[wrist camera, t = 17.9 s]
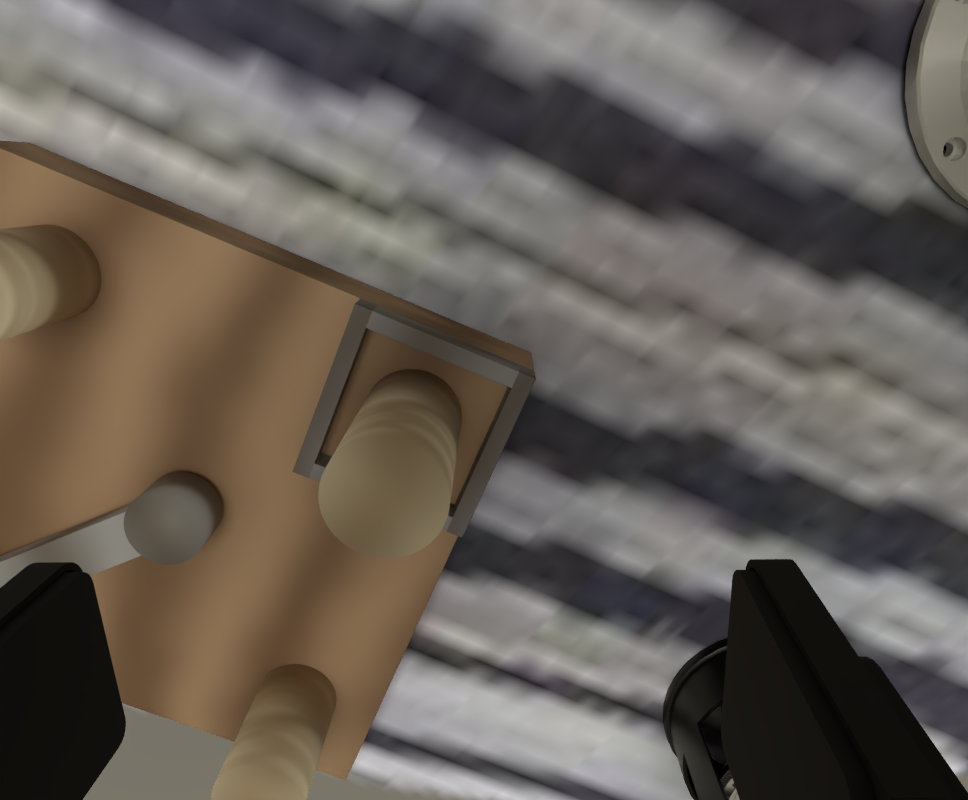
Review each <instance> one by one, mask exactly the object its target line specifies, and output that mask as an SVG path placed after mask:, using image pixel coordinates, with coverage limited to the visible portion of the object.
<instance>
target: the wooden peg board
mask: <svg viewBox="0 0 968 800" xmlns="http://www.w3.org/2000/svg"><path fill="white" fill-rule="evenodd" d="M404 369H419V370H424V371H427V372H430V373H432V374H435V375H437V376H438V377H440V378H441V379H443V380H444V381H445V382H446V383H447V384H448V385H449V386H450V387H451V388H452V390H453V391H454V392H455V394H456V396H457V398H458V400H459V403H460V407H461V413H462V421H461V429H460V436H459V443H458V451H457V458H456V465H455V472H454V479H453V486H452V493H451V501H450V508H449V513H448V517H447V520H446V522H445V525H444V526H443V528H442V530H441V531H440V533H439V534H438V536H437V537H436V538H435V539H434V540H433V541H432V542H431V543H430V544H428V545H427V546H426V547H424V548H423V549H421V550H419V551H417V552H415V553H413V554H410V555H407V556H404V557H398V558H376V557H371V556H367V555H364V554H361V553H359V552H356V551H354V550H352V549H351V548H349V547H347V546H346V545H345V544H343V543H342V542H341V541H340V540H339V539H337V538H336V537H335V536H334V534H333V533H332V532H331V531H330V529H329V528H328V526H327V525H326V523H325V521H324V519H323V517H322V514H321V511H320V507H319V500H318V490H319V483H320V480H321V477H322V474H323V472H324V470H325V468H326V466H327V465H328V463H329V461H330V459H331V458H332V456H333V454H334V453H335V451H336V449H337V447H338V446H339V444H340V442H341V441H342V439H343V437H344V435H345V434H346V432H347V430H348V429H349V427H350V425H351V423H352V422H353V420H354V418H355V417H356V415H357V413H358V411H359V410H360V408H361V406H362V405H363V403H364V401H365V399H366V398H367V396H368V394H369V393H370V391H371V389H372V388H373V387H374V385H375V384H376V383H377V382H378V381H379V380H381V379H382V378H383V377H385V376H386V375H388V374H390V373H392V372H395V371H398V370H404ZM535 379H536V378H535V373H534V367H533V362H532V357H531V353H529V352H527V351H525V350H522V349H520V348H517V347H515V346H513V345H510V344H508V343H505V342H503V341H501V340H498V339H496V338H494V337H491V336H489V335H486V334H484V333H482V332H479V331H477V330H474V329H472V328H470V327H467V326H465V325H463V324H460V323H458V322H455V321H453V320H451V319H448V318H446V317H443V316H441V315H439V314H436V313H434V312H432V311H429V310H427V309H424V308H422V307H420V306H417V305H415V304H412V303H410V302H408V301H405V300H403V299H401V298H398V297H396V296H393V295H391V294H389V293H386V292H384V291H381V290H379V289H377V288H374V287H372V286H369V285H367V284H365V283H362V282H360V281H358V280H355V279H353V278H350V277H348V276H346V275H343V274H341V273H338V272H336V271H334V270H331V269H329V268H327V267H324V266H322V265H319V264H317V263H315V262H312V261H310V260H307V259H305V258H303V257H300V256H298V255H296V254H293V253H291V252H288V251H286V250H284V249H281V248H279V247H276V246H274V245H272V244H269V243H267V242H265V241H262V240H260V239H257V238H255V237H253V236H250V235H248V234H245V233H243V232H241V231H238V230H236V229H234V228H231V227H229V226H226V225H224V224H222V223H219V222H217V221H214V220H212V219H210V218H207V217H205V216H203V215H200V214H198V213H195V212H193V211H191V210H188V209H186V208H183V207H181V206H179V205H176V204H174V203H172V202H169V201H167V200H164V199H162V198H160V197H157V196H155V195H152V194H150V193H148V192H145V191H143V190H141V189H138V188H136V187H133V186H131V185H129V184H126V183H124V182H121V181H119V180H117V179H114V178H112V177H110V176H107V175H105V174H102V173H100V172H98V171H95V170H93V169H90V168H88V167H86V166H83V165H81V164H79V163H76V162H74V161H71V160H69V159H67V158H64V157H62V156H59V155H57V154H55V153H52V152H50V151H48V150H45V149H43V148H40V147H38V146H36V145H33V144H31V143H25V142H11V141H0V556H2V555H5V554H7V553H10V552H12V551H15V550H17V549H20V548H22V547H25V546H27V545H30V544H32V543H35V542H37V541H40V540H42V539H45V538H47V537H50V536H52V535H54V534H57V533H59V532H62V531H64V530H67V529H69V528H72V527H74V526H77V525H79V524H82V523H84V522H87V521H89V520H92V519H94V518H97V517H99V516H102V515H104V514H107V513H109V512H112V511H114V510H117V509H119V508H121V507H124V506H126V505H129V504H131V503H132V502H133V501H134V500H135V499H136V498H137V497H138V496H140V495H141V494H142V493H143V492H144V491H145V490H146V489H147V488H148V487H150V486H151V485H152V484H153V483H154V482H155V481H156V480H157V479H159V478H160V477H162V476H164V475H166V474H169V473H173V472H186V473H191V474H194V475H197V476H199V477H201V478H203V479H204V480H206V481H207V482H208V483H209V484H210V485H211V486H212V487H213V488H214V489H215V490H216V492H217V493H218V495H219V497H220V500H221V503H222V518H221V521H220V524H219V525H218V527H217V528H216V530H215V531H214V532H213V534H212V535H211V536H210V537H209V539H208V540H207V541H206V542H205V544H204V545H203V546H202V547H201V549H200V550H199V551H198V552H197V554H196V555H195V556H193V557H192V558H191V559H189V560H187V561H185V562H183V563H179V564H173V565H166V564H159V563H156V562H153V561H150V560H148V559H146V558H145V557H143V556H139V557H136V558H134V559H131V560H129V561H126V562H124V563H121V564H119V565H116V566H113V567H111V568H108V569H106V570H103V571H101V572H98V573H96V574H93V575H90V576H91V578H92V580H93V583H94V588H95V592H96V596H97V600H98V604H99V609H100V613H101V617H102V621H103V626H104V630H105V634H106V638H107V643H108V647H109V651H110V655H111V660H112V664H113V668H114V672H115V677H116V681H117V685H118V689H119V693H120V698H121V702H122V703H124V704H126V705H129V706H132V707H135V708H138V709H141V710H144V711H147V712H150V713H153V714H155V715H158V716H161V717H164V718H167V719H170V720H173V721H176V722H179V723H182V724H185V725H187V726H190V727H193V728H196V729H199V730H202V731H205V732H208V733H211V734H214V735H216V736H219V737H223V738H225V739H228V740H231V741H234V743H233V746H232V748H231V750H230V752H229V754H228V756H227V759H226V761H225V763H224V765H223V767H222V770H221V772H220V774H219V776H218V778H217V780H216V782H215V784H214V787H213V789H212V793H211V800H307V797H308V794H309V791H310V788H311V784H312V781H313V778H314V775H315V771H316V770H318V771H321V772H324V773H327V774H330V775H332V776H335V777H338V778H341V779H344V780H346V778H347V776H348V774H349V772H350V770H351V768H352V765H353V763H354V761H355V759H356V757H357V755H358V752H359V750H360V748H361V746H362V744H363V741H364V739H365V737H366V735H367V733H368V731H369V728H370V726H371V724H372V722H373V720H374V718H375V715H376V713H377V711H378V709H379V707H380V705H381V702H382V700H383V698H384V696H385V694H386V692H387V689H388V687H389V685H390V683H391V681H392V678H393V676H394V674H395V672H396V670H397V668H398V665H399V663H400V661H401V659H402V657H403V655H404V652H405V650H406V648H407V646H408V644H409V642H410V639H411V637H412V635H413V633H414V631H415V629H416V626H417V624H418V622H419V620H420V618H421V615H422V613H423V611H424V609H425V607H426V605H427V602H428V600H429V598H430V596H431V594H432V592H433V589H434V587H435V585H436V583H437V581H438V579H439V576H440V574H441V572H442V570H443V568H444V566H445V563H446V561H447V559H448V557H449V555H450V552H451V550H452V548H453V546H454V544H455V542H456V539H457V537H458V536H459V537H463V535H464V533H465V531H466V528H467V526H468V524H469V522H470V520H471V518H472V515H473V513H474V511H475V509H476V507H477V505H478V502H479V500H480V498H481V496H482V494H483V492H484V489H485V487H486V485H487V483H488V481H489V479H490V477H491V474H492V472H493V470H494V468H495V466H496V464H497V461H498V459H499V457H500V455H501V453H502V451H503V448H504V446H505V444H506V442H507V440H508V438H509V435H510V433H511V431H512V429H513V427H514V425H515V422H516V420H517V418H518V416H519V414H520V412H521V410H522V407H523V405H524V403H525V401H526V399H527V397H528V394H529V392H530V390H531V388H532V386H533V384H534V381H535Z"/></svg>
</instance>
